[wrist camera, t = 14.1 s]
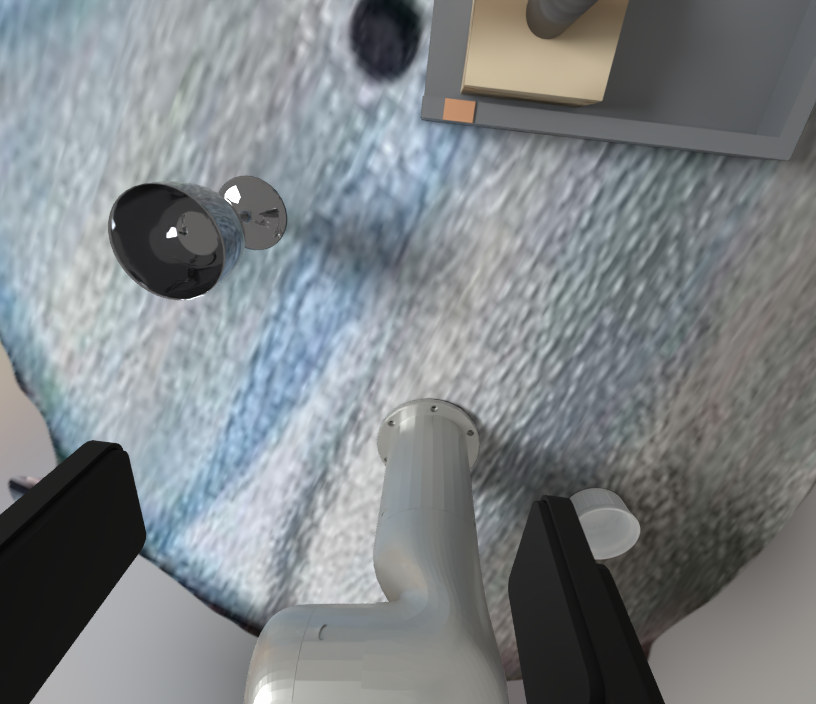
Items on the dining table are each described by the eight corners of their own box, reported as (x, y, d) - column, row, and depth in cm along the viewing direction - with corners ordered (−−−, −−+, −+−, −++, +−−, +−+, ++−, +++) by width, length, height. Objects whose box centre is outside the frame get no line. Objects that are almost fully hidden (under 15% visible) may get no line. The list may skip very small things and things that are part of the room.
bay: (755, 159, 38) (790, 160, 34) (422, 119, 38) (420, 116, 34) (841, -45, 32) (895, -71, 28) (444, -91, 32) (445, -122, 28)
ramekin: (594, 472, 54) (606, 497, 50) (641, 506, 56) (656, 532, 52) (543, 511, 58) (551, 537, 54) (589, 542, 60) (600, 569, 56)
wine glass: (197, 216, 43) (88, 248, 30) (238, 152, 40) (140, 154, 27) (262, 269, 45) (188, 321, 32) (306, 211, 42) (246, 242, 29)
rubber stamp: (577, 108, 36) (652, 87, 24) (460, 94, 36) (473, 66, 24) (612, -40, 32) (728, -160, 19) (480, -55, 32) (510, -185, 20)
